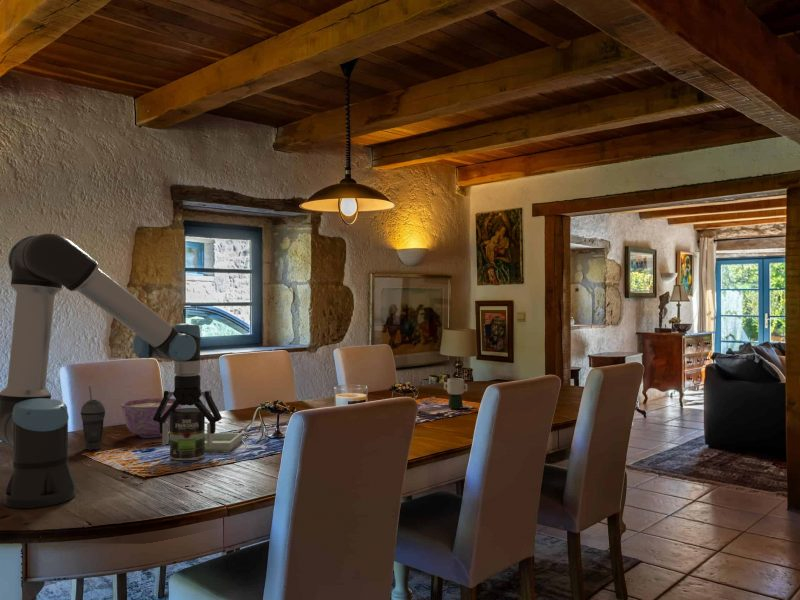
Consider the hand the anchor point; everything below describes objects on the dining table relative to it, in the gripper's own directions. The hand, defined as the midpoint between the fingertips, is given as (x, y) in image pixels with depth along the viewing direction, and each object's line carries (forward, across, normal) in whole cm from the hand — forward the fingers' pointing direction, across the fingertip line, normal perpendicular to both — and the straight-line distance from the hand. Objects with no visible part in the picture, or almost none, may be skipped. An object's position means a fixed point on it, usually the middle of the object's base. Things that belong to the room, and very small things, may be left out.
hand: (187, 444), depth 199 cm
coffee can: (+4, 0, 0) cm, 4 cm away
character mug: (+4, -87, -86) cm, 122 cm away
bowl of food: (+4, +23, -30) cm, 38 cm away
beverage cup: (+4, +34, -10) cm, 36 cm away
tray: (+4, -4, -14) cm, 15 cm away
